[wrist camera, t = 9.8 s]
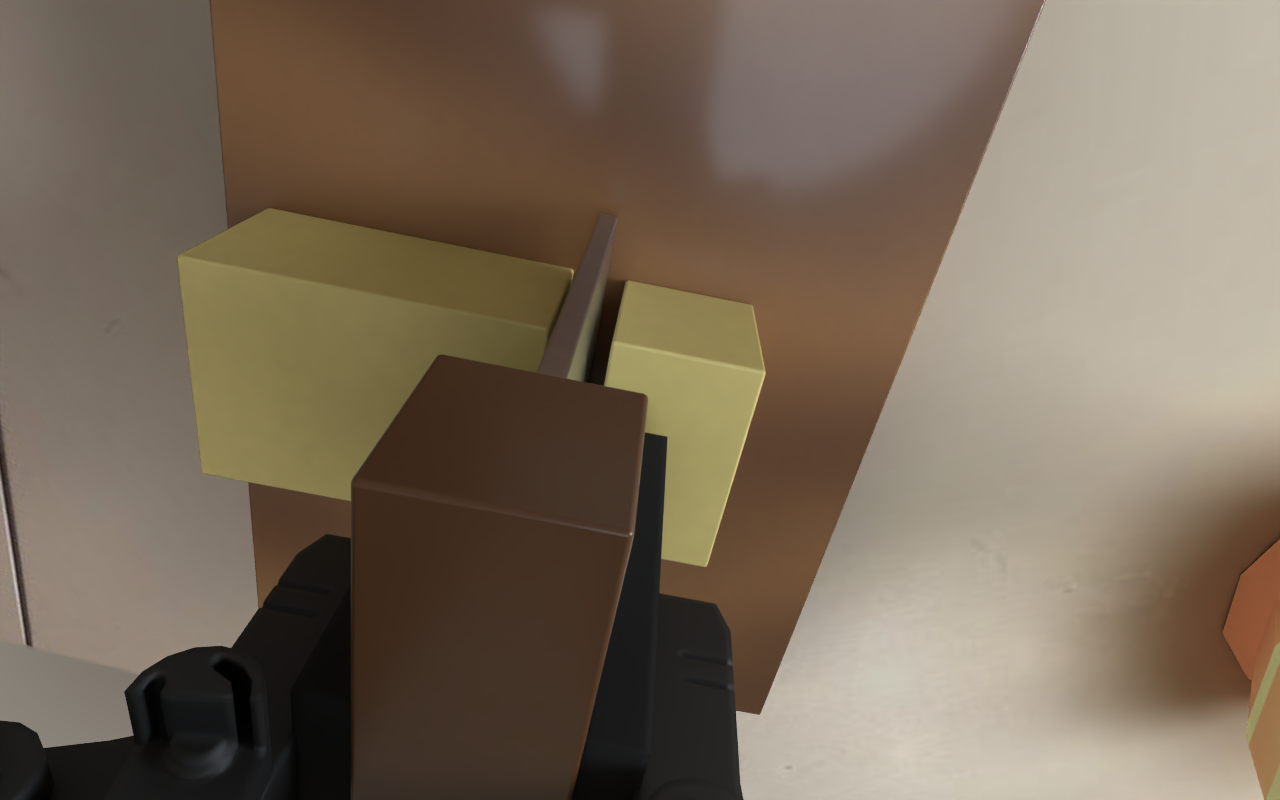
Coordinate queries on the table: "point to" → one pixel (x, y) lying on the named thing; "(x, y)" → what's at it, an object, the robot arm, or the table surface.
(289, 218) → the butter
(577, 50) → the board
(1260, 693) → the potted cactus
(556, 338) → the cleaver
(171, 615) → the table surface
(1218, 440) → the table surface
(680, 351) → the butter pat
